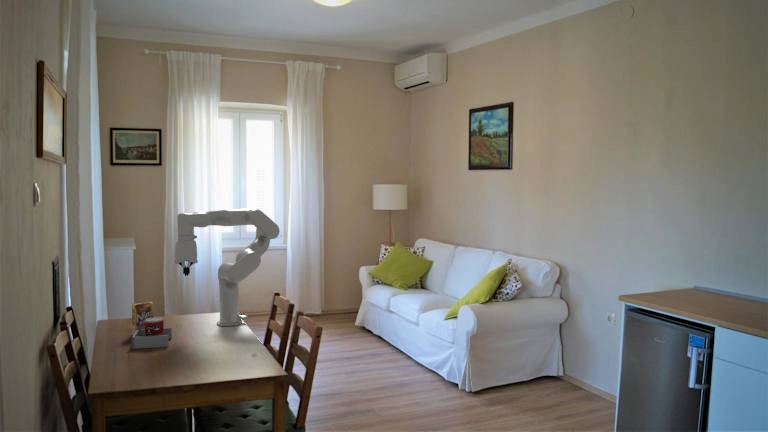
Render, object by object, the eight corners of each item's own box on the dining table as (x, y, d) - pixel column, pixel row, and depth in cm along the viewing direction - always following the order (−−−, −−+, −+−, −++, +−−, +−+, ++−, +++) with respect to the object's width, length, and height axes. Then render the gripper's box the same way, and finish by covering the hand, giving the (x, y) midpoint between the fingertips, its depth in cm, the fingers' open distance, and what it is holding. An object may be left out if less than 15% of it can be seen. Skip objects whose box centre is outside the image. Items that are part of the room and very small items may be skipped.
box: (171, 338, 274) (171, 327, 274) (168, 346, 260) (168, 335, 260) (137, 340, 271) (137, 329, 270) (131, 348, 256) (131, 337, 256)
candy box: (135, 337, 276) (134, 304, 276) (131, 335, 279) (131, 303, 279) (154, 333, 282) (153, 302, 282) (150, 332, 286) (149, 300, 285)
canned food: (141, 345, 262) (141, 320, 261) (152, 340, 270) (151, 316, 269) (157, 346, 260) (156, 321, 260) (167, 341, 268) (166, 317, 268)
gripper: (202, 237, 293) (202, 273, 294) (170, 237, 289) (171, 274, 290) (201, 238, 286) (202, 275, 287) (168, 239, 282) (169, 277, 283)
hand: (186, 275), depth 288 cm, fingers closed
